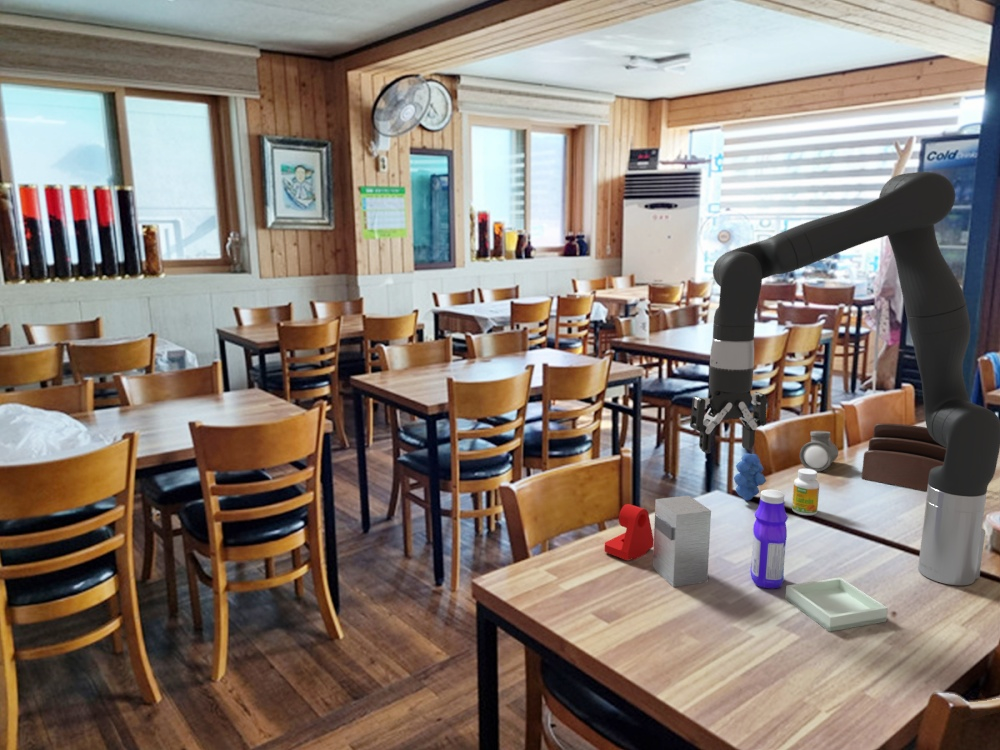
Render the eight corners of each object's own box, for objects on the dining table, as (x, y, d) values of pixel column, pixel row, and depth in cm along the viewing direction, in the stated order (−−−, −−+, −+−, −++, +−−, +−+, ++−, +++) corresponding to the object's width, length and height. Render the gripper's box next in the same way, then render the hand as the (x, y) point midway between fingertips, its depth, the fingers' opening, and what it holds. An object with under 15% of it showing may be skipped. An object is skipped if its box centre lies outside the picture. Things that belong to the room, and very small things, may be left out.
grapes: (752, 511, 169) (756, 461, 167) (725, 504, 174) (728, 455, 172) (775, 498, 178) (779, 450, 175) (749, 491, 182) (752, 444, 180)
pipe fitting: (829, 473, 193) (830, 435, 193) (798, 469, 198) (799, 432, 198) (843, 467, 202) (845, 430, 202) (813, 464, 207) (814, 427, 207)
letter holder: (870, 469, 198) (875, 419, 195) (955, 485, 186) (962, 431, 183) (860, 479, 190) (865, 427, 188) (949, 496, 178) (956, 440, 175)
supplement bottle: (791, 514, 168) (794, 473, 166) (792, 505, 173) (795, 466, 171) (817, 517, 166) (820, 476, 164) (816, 508, 171) (820, 468, 169)
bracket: (628, 540, 155) (629, 495, 152) (653, 549, 150) (654, 503, 148) (602, 553, 149) (603, 507, 147) (627, 563, 144) (629, 515, 142)
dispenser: (687, 562, 144) (691, 495, 141) (709, 581, 137) (713, 510, 134) (651, 568, 142) (653, 499, 139) (671, 587, 134) (674, 515, 132)
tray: (838, 590, 133) (840, 577, 133) (886, 621, 122) (887, 607, 122) (785, 598, 130) (786, 585, 130) (829, 631, 120) (830, 617, 119)
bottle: (785, 592, 132) (793, 501, 129) (752, 589, 133) (759, 498, 130) (779, 574, 139) (785, 486, 136) (747, 571, 140) (753, 484, 137)
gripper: (707, 370, 127) (702, 459, 130) (778, 365, 131) (772, 452, 134) (685, 362, 134) (681, 447, 137) (753, 358, 138) (748, 441, 141)
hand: (726, 450), depth 136 cm, fingers open, 8 cm apart
